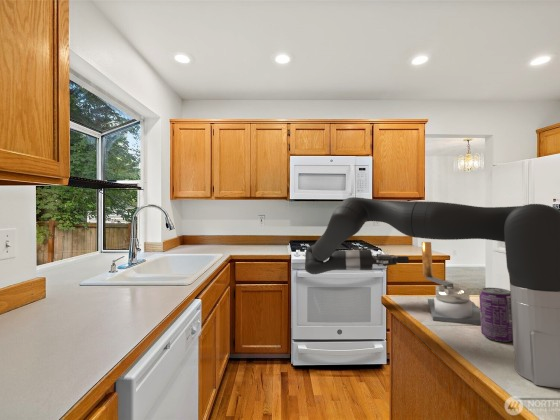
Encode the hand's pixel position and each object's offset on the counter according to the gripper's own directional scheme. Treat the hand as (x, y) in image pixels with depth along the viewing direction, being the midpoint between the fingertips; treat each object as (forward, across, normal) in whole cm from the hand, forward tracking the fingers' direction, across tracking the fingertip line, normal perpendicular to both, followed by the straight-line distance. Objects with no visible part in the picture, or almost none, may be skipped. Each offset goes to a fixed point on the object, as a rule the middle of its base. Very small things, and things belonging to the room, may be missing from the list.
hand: (408, 259), depth 105 cm
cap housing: (+12, -8, +16) cm, 21 cm away
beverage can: (+15, -28, +16) cm, 35 cm away
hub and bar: (+8, -8, +10) cm, 16 cm away
